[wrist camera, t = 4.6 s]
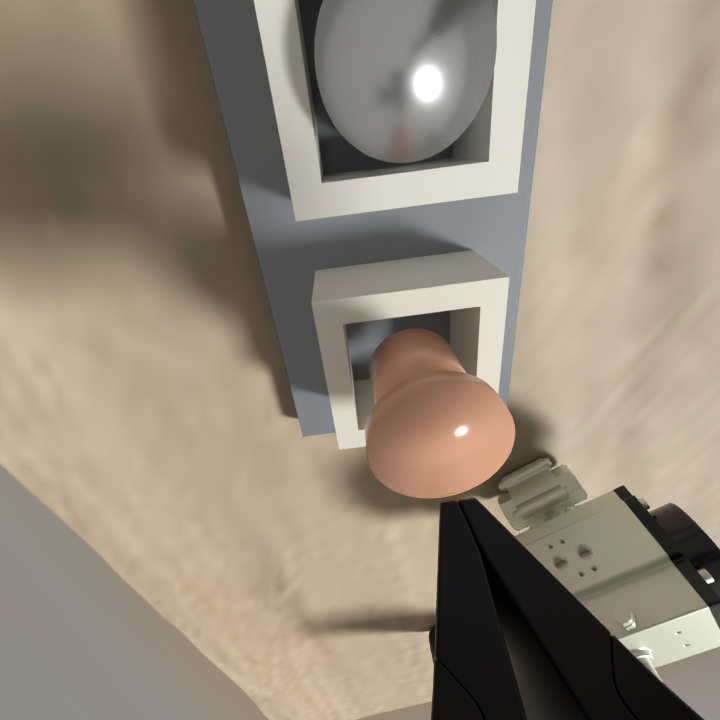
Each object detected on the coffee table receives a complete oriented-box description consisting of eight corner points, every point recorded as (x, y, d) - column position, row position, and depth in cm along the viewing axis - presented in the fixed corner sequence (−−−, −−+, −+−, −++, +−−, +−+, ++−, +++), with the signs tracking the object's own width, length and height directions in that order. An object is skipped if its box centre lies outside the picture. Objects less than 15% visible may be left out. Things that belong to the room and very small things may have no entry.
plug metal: (446, -8, 12) (504, -87, 8) (445, 150, 15) (490, 152, 10) (309, 10, 12) (297, -60, 8) (329, 165, 15) (329, 173, 10)
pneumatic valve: (616, 457, 26) (800, 658, 16) (473, 527, 29) (550, 734, 19) (591, 410, 24) (787, 610, 14) (438, 492, 27) (504, 706, 17)
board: (548, -162, 12) (694, -370, 7) (496, 395, 23) (539, 460, 18) (175, -114, 12) (70, -290, 7) (304, 420, 23) (297, 492, 18)
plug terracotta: (468, 309, 14) (523, 375, 10) (464, 403, 17) (508, 488, 13) (351, 325, 14) (358, 397, 10) (363, 417, 17) (374, 506, 13)
